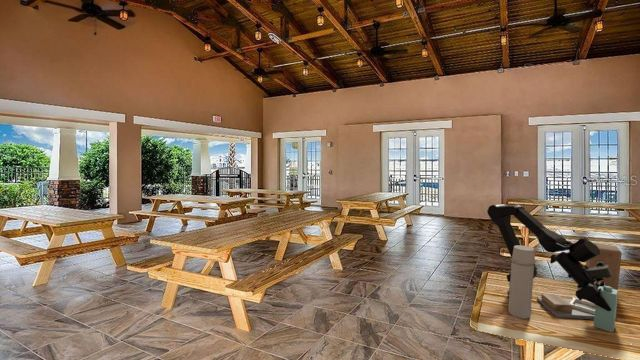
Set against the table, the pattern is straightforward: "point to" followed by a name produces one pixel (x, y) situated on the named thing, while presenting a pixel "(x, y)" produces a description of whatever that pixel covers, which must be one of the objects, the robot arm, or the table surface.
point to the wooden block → (608, 263)
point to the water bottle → (521, 281)
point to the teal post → (603, 316)
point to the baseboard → (575, 309)
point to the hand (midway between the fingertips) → (611, 308)
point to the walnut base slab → (556, 302)
